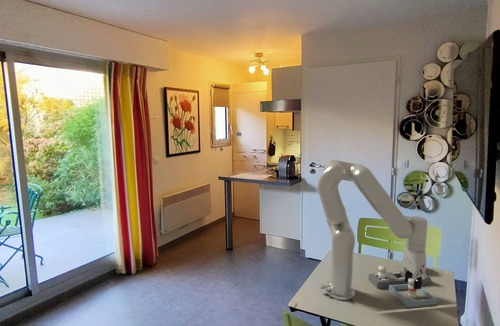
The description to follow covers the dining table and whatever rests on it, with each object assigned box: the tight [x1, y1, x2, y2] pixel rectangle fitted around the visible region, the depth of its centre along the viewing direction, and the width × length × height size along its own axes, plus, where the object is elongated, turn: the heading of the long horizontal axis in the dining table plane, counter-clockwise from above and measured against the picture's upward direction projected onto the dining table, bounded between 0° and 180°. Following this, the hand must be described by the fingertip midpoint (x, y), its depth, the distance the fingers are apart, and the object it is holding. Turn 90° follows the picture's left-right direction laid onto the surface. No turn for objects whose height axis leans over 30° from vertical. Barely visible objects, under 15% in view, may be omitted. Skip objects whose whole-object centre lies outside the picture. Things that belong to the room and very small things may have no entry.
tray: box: [388, 284, 438, 310], centre depth 141 cm, size 14×14×3 cm
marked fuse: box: [407, 278, 417, 300], centre depth 141 cm, size 3×3×8 cm
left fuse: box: [377, 265, 387, 280], centre depth 152 cm, size 3×3×8 cm
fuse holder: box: [367, 270, 432, 289], centre depth 153 cm, size 27×8×4 cm, turn 98°
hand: (412, 284), depth 140 cm, fingers open, 5 cm apart
